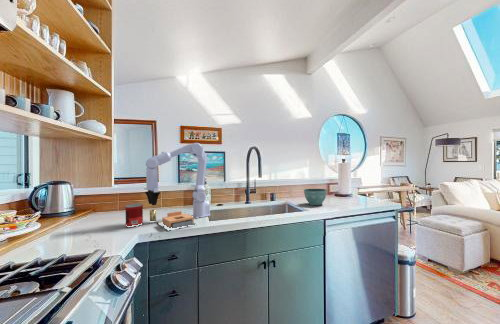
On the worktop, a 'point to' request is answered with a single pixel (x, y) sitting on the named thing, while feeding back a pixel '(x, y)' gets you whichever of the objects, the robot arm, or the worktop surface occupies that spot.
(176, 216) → the orange slotted block
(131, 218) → the canned food
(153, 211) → the pin
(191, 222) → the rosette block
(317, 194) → the flower pot
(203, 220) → the worktop surface
